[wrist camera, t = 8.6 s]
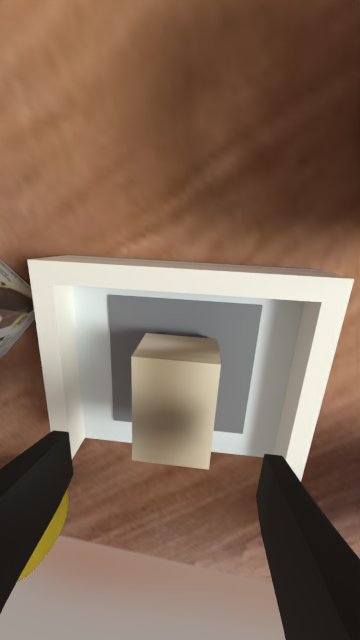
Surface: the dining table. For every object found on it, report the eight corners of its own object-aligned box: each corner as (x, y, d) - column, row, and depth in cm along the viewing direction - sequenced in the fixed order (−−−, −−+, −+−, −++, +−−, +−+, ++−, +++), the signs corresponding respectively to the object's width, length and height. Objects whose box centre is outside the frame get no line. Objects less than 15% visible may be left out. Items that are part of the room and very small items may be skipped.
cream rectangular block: (216, 331, 15) (220, 364, 11) (207, 415, 17) (208, 469, 13) (150, 326, 15) (131, 356, 11) (148, 408, 17) (132, 460, 13)
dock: (317, 269, 15) (354, 278, 12) (280, 438, 19) (299, 487, 16) (67, 255, 17) (27, 259, 13) (81, 417, 21) (54, 457, 17)
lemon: (53, 439, 22) (-28, 547, 14) (97, 480, 23) (43, 602, 15) (14, 466, 23) (-79, 577, 15) (56, 504, 24) (-12, 625, 16)
